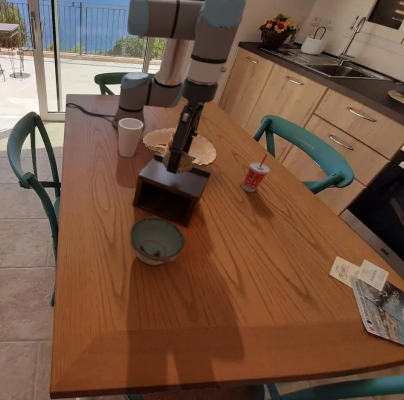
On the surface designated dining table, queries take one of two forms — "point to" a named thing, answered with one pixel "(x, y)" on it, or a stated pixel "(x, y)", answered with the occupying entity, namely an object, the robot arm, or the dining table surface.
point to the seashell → (184, 163)
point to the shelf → (170, 191)
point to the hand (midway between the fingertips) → (176, 163)
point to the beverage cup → (255, 175)
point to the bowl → (156, 240)
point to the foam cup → (129, 136)
